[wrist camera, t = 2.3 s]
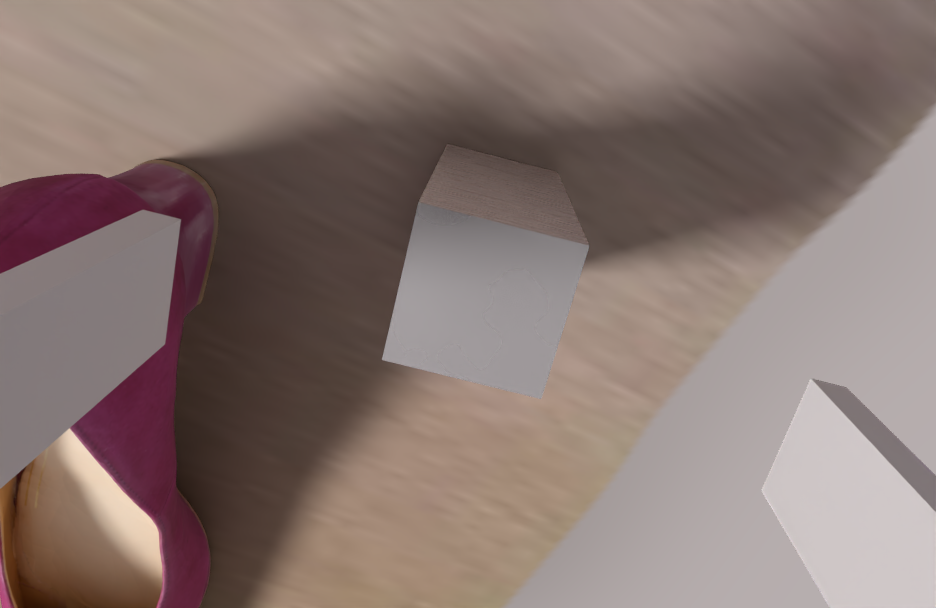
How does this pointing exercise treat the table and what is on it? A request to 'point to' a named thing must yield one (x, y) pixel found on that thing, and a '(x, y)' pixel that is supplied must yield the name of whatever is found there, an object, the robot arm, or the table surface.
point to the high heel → (109, 420)
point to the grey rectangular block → (488, 273)
